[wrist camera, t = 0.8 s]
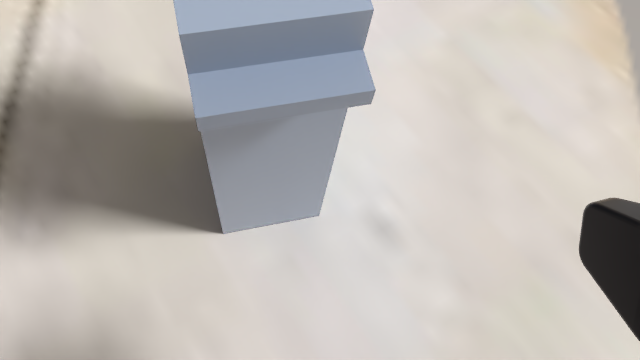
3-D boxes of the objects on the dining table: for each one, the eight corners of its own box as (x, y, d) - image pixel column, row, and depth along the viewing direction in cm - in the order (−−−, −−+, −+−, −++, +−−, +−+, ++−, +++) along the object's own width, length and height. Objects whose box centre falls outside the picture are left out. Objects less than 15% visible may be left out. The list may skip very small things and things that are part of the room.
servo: (324, 240, 23) (396, 27, 11) (227, 259, 23) (181, 57, 10) (291, 102, 26) (317, -205, 13) (202, 116, 25) (139, -194, 12)
